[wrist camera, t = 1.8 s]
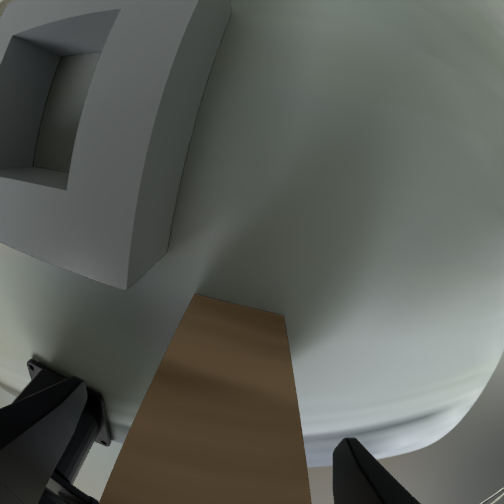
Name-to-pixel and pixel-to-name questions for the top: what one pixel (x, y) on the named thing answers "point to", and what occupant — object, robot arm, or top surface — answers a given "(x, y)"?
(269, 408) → the walnut post
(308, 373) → the top surface
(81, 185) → the well block
